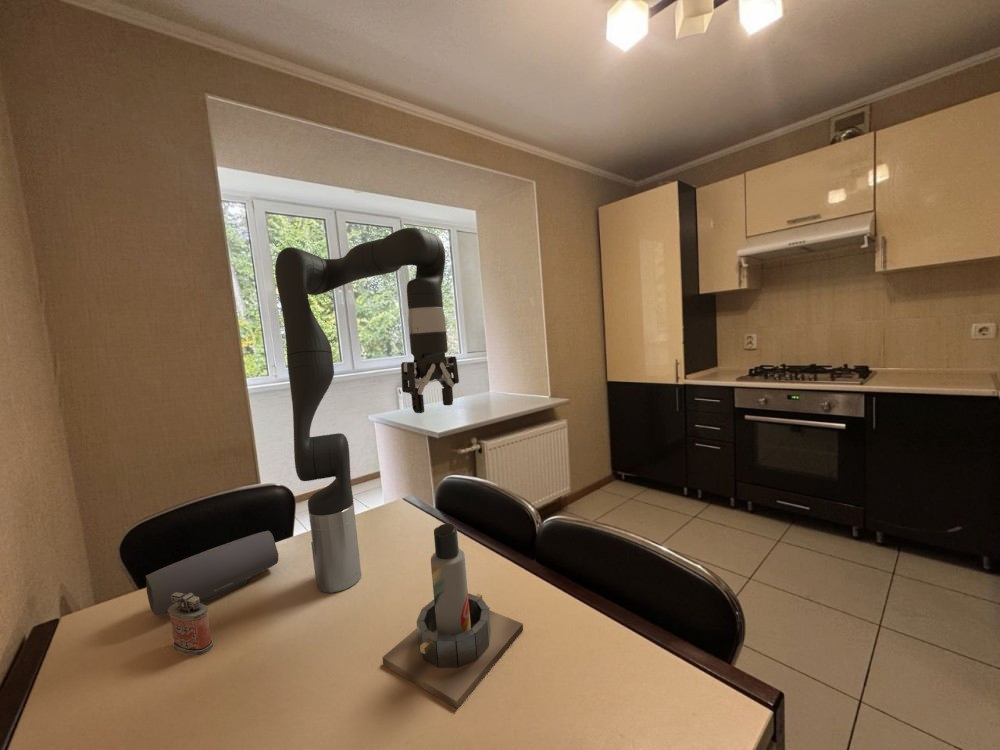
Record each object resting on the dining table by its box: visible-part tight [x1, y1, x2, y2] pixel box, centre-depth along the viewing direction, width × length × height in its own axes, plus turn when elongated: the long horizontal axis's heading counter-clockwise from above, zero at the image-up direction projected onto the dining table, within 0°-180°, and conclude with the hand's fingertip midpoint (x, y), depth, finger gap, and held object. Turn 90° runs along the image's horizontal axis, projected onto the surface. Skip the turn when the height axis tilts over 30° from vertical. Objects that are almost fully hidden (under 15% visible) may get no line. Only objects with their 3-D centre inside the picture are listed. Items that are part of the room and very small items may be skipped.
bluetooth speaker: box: [145, 530, 279, 618], centre depth 91 cm, size 23×9×10 cm, turn 139°
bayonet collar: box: [416, 593, 491, 668], centre depth 70 cm, size 12×15×4 cm
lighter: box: [167, 592, 214, 657], centre depth 74 cm, size 8×3×10 cm, turn 71°
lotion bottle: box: [430, 523, 471, 636], centre depth 69 cm, size 6×6×20 cm
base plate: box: [382, 605, 524, 710], centre depth 71 cm, size 16×19×1 cm
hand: (434, 408), depth 86 cm, fingers open, 8 cm apart
